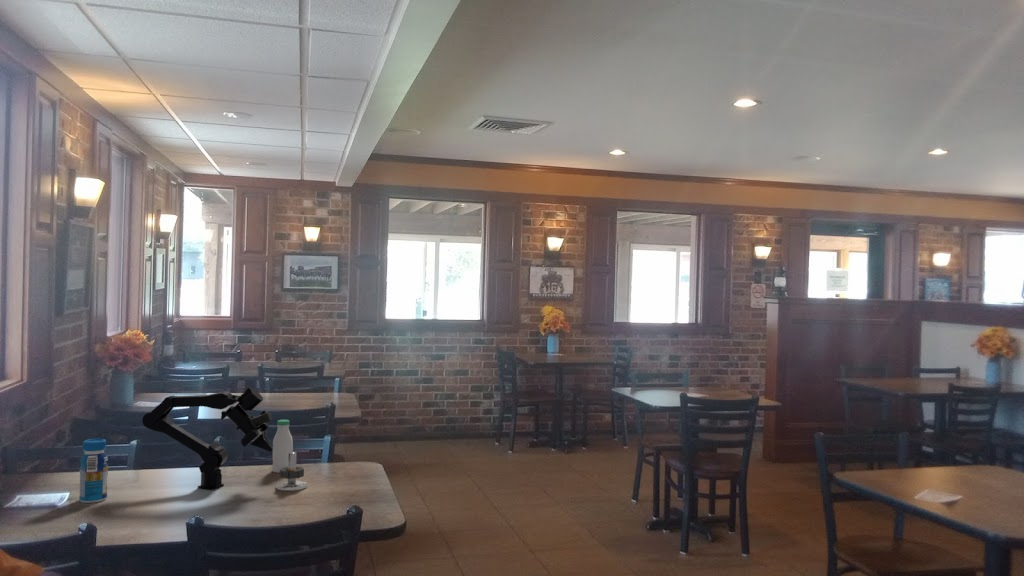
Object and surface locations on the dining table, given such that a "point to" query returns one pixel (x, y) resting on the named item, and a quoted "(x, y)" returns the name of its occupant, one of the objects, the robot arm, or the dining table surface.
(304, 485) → the pipe stand
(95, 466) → the beverage bottle
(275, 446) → the milk bottle
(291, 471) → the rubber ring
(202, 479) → the robot arm
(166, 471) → the dining table surface
